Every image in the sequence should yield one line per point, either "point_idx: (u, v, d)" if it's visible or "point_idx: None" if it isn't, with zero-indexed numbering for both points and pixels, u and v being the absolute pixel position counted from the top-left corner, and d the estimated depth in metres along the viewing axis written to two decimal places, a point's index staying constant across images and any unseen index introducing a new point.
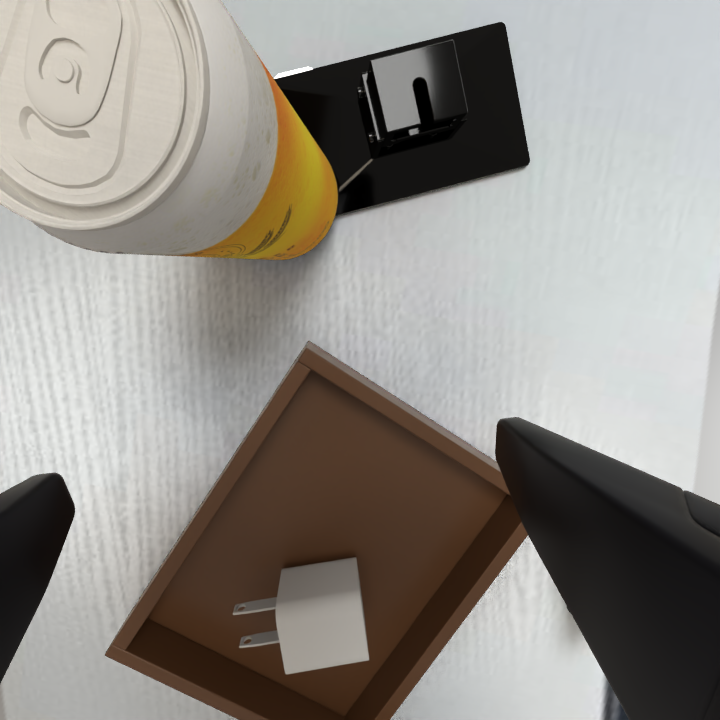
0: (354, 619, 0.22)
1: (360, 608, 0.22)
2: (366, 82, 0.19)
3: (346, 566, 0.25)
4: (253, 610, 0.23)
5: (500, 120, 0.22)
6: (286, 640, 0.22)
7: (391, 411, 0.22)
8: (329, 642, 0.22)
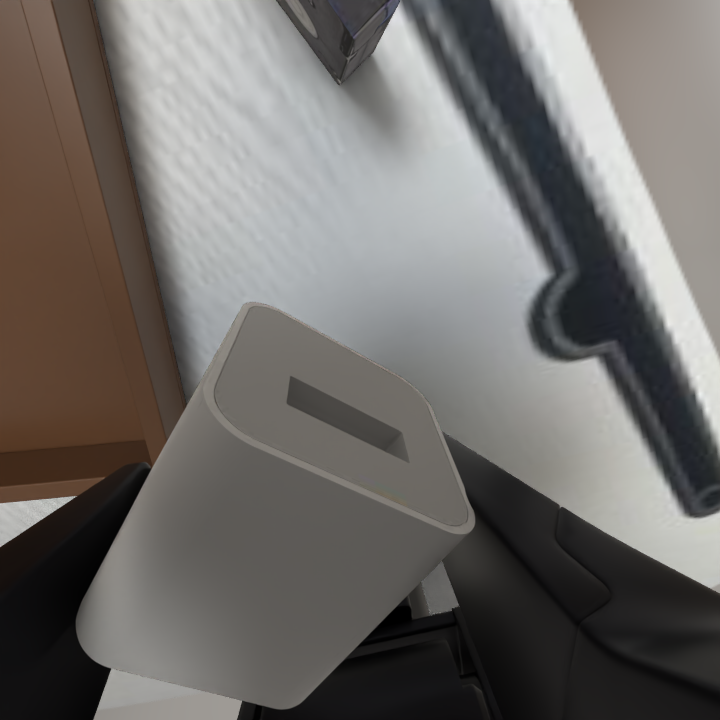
0: (265, 488, 0.05)
1: (235, 443, 0.05)
2: None
3: (219, 347, 0.07)
4: None
5: None
6: (182, 670, 0.06)
7: None
8: (290, 593, 0.06)
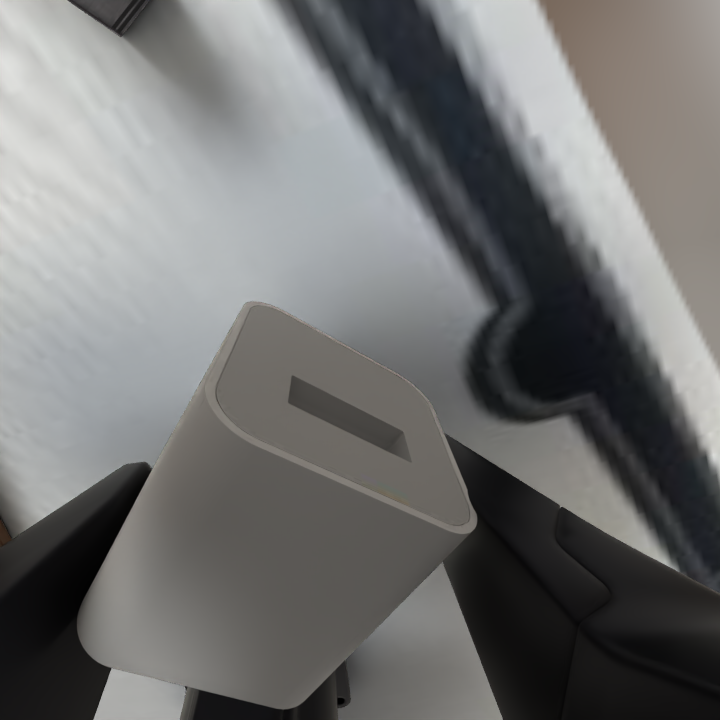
0: (267, 487, 0.05)
1: (237, 442, 0.04)
2: None
3: (221, 346, 0.07)
4: None
5: None
6: (183, 670, 0.06)
7: None
8: (291, 593, 0.06)
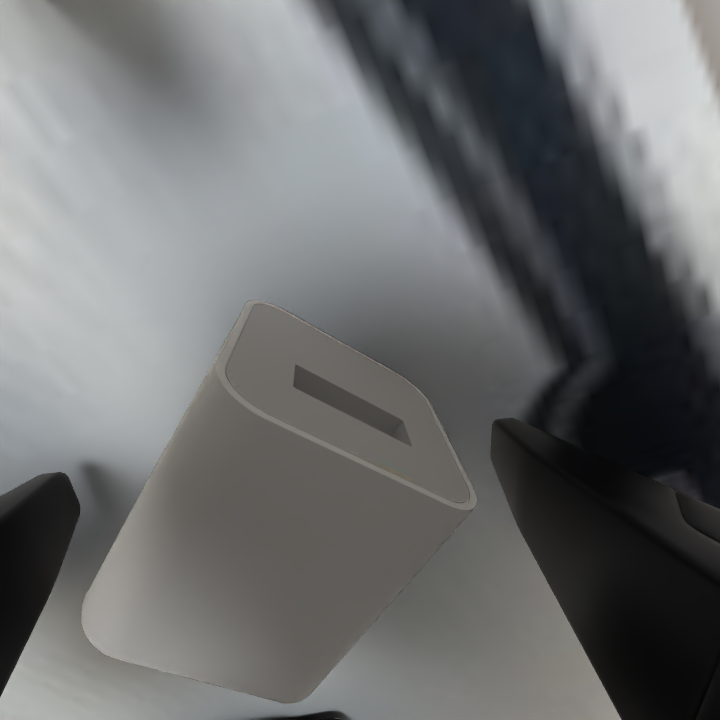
0: (276, 462, 0.05)
1: (247, 416, 0.05)
2: None
3: (225, 341, 0.07)
4: None
5: None
6: (188, 660, 0.06)
7: None
8: (298, 573, 0.06)
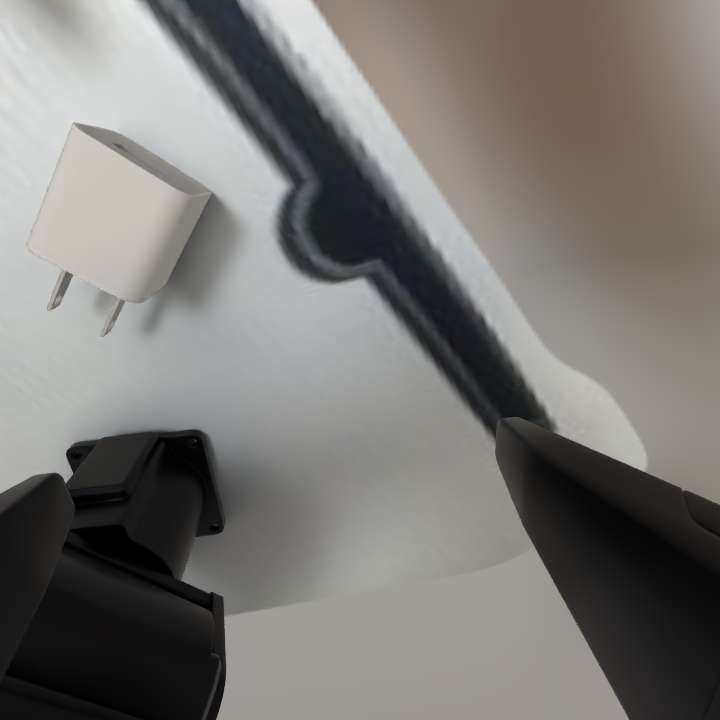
0: (94, 156, 0.13)
1: (81, 133, 0.13)
2: None
3: None
4: None
5: None
6: (70, 262, 0.15)
7: None
8: (111, 216, 0.14)
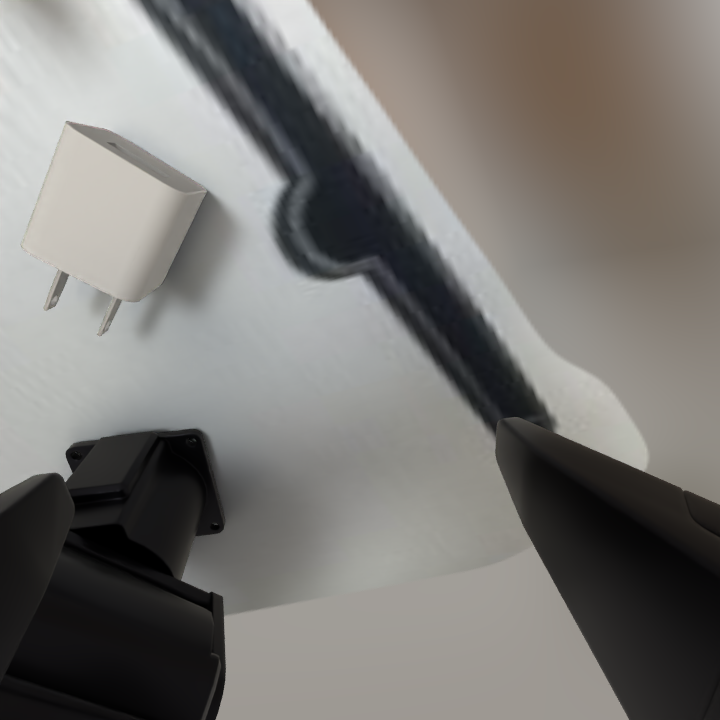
0: (88, 154, 0.13)
1: (74, 132, 0.13)
2: None
3: None
4: None
5: None
6: (66, 262, 0.15)
7: None
8: (106, 214, 0.14)
